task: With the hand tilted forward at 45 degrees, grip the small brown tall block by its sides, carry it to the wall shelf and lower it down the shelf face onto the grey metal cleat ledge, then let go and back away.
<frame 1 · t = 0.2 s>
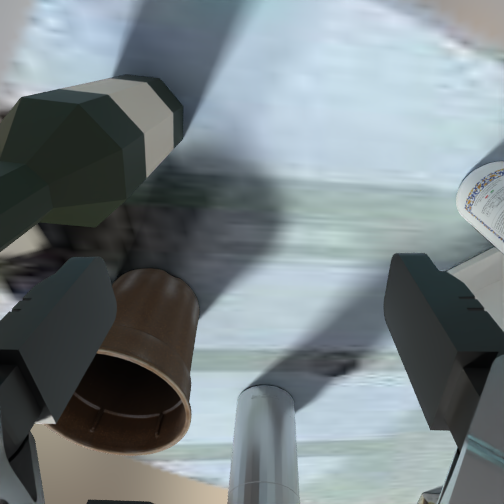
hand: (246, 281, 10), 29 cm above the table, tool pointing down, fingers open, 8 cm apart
bath foam: (487, 191, 38), on the table
wine bottle: (145, 118, 36), on the table
wall shelf: (502, 277, 43), on the table
plant pot: (154, 303, 49), on the table
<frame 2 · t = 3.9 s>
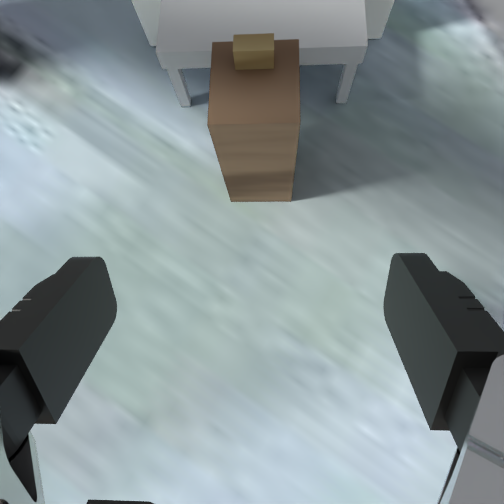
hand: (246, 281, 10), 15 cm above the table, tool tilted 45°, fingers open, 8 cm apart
brown tall block: (261, 171, 28), on the table
wall shelf: (263, 35, 31), on the table
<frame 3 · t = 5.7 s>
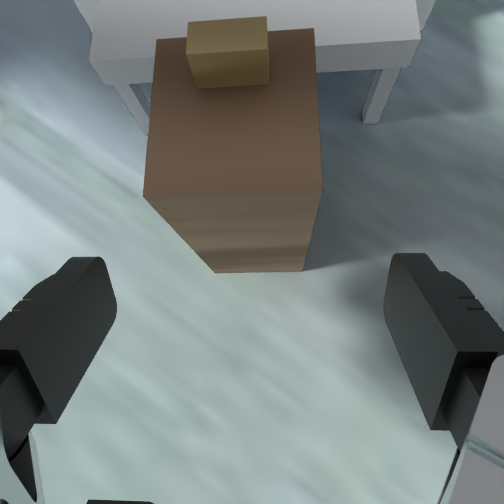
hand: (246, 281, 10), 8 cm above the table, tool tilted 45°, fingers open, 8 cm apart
brown tall block: (258, 227, 19), on the table
wall shelf: (257, 32, 23), on the table
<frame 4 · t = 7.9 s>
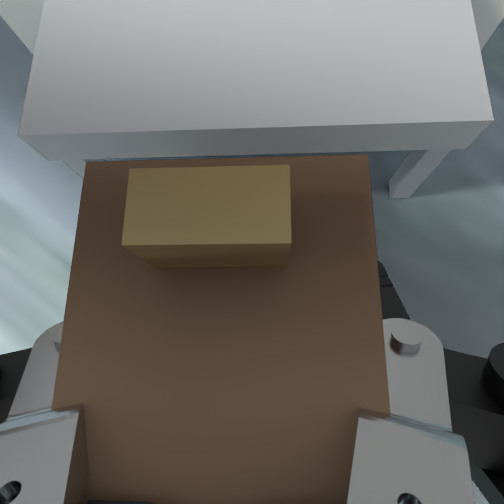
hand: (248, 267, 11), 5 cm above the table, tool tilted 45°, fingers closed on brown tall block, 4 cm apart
brown tall block: (255, 335, 15), on the table, touching gripper
wall shelf: (256, 73, 18), on the table
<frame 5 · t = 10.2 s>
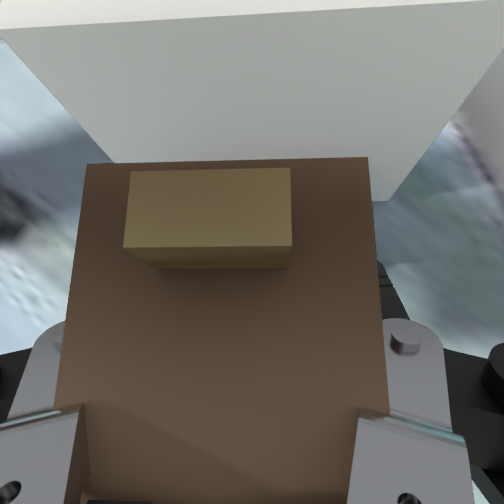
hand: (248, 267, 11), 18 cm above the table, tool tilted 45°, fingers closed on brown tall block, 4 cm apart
brown tall block: (255, 336, 15), point 13 cm above the table, touching gripper
wall shelf: (267, 195, 31), on the table
when the fingers open (12 cm above the table, at t = 12.8 s): brown tall block drops 1 cm, resting on wall shelf.
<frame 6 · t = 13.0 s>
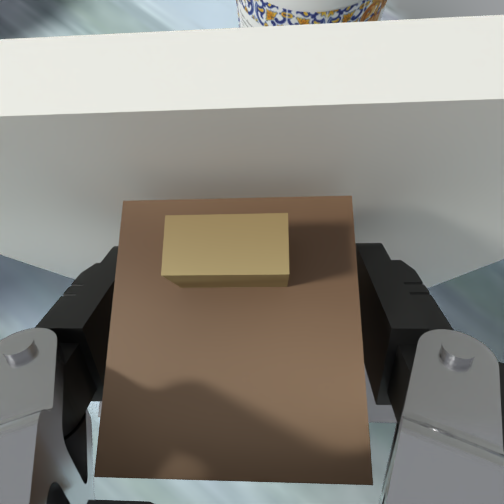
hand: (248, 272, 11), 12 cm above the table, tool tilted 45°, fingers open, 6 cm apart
brown tall block: (258, 338, 16), point 6 cm above the table, touching wall shelf
bath foam: (297, 120, 26), on the table
wall shelf: (261, 279, 23), on the table
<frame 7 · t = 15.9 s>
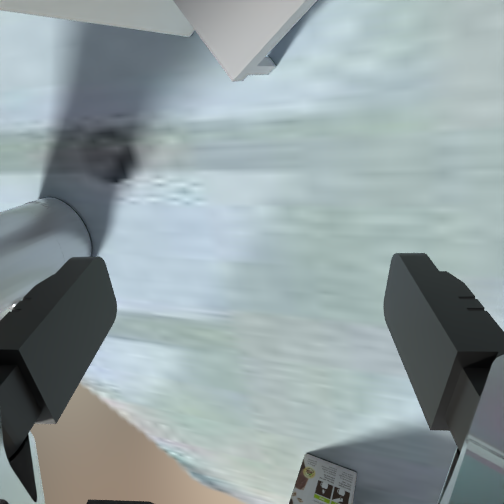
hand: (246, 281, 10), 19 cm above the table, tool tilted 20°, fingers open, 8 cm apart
coffee box: (328, 483, 44), on the table
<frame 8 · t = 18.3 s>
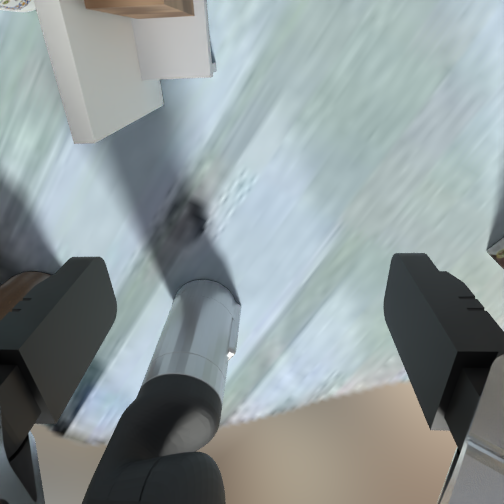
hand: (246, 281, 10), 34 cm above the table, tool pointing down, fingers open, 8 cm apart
plant pot: (47, 302, 56), on the table
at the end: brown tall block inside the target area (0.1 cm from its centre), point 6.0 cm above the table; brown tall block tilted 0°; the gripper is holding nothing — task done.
